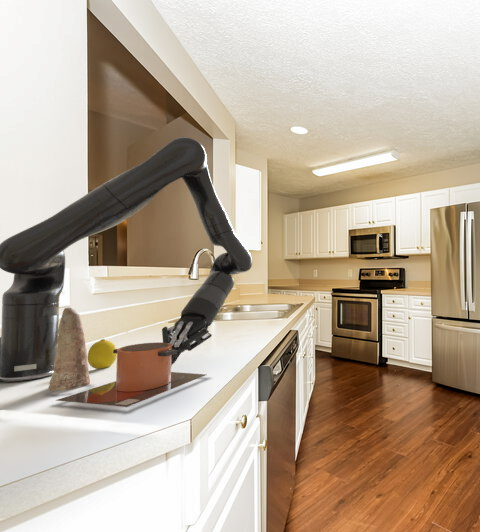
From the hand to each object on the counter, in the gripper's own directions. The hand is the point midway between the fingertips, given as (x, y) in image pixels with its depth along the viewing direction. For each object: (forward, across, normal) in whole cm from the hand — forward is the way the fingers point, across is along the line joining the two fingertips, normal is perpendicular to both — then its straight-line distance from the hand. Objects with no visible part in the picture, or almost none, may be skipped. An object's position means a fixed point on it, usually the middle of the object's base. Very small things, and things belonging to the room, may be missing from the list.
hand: (165, 364), depth 78 cm
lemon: (0, -22, +6) cm, 23 cm away
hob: (+7, 0, -2) cm, 7 cm away
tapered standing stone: (+9, -14, -3) cm, 17 cm away
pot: (+6, 0, -2) cm, 6 cm away
